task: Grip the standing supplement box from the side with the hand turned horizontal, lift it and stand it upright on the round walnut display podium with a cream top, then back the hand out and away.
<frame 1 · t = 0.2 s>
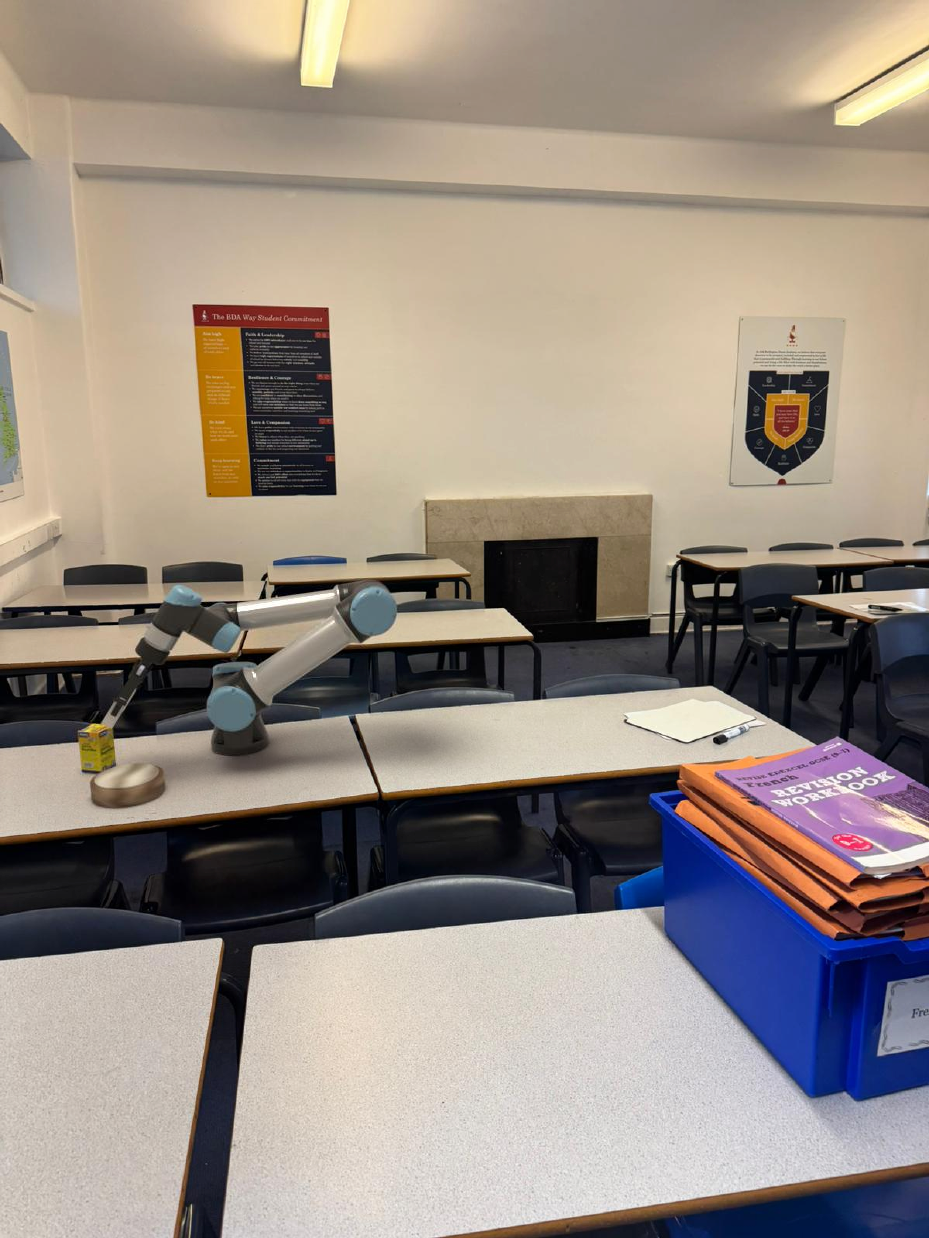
hand: (112, 717, 199), 15 cm above the table, tool tilted 35°, fingers open, 13 cm apart
podium: (128, 792, 191), on the table
supplement box: (99, 769, 205), on the table
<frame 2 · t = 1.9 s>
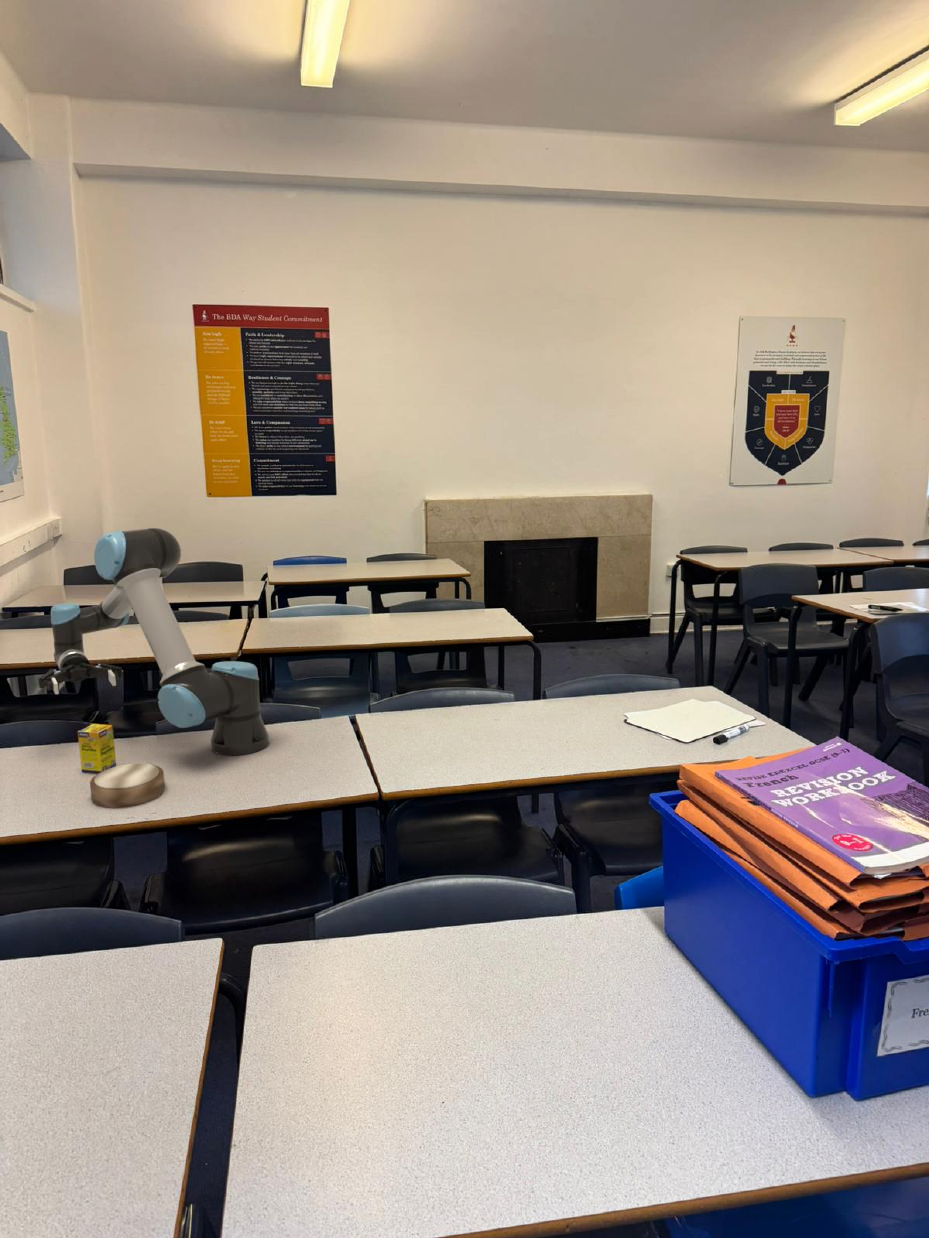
hand: (85, 684, 209), 20 cm above the table, tool horizontal, fingers open, 13 cm apart
nothing on the table moved.
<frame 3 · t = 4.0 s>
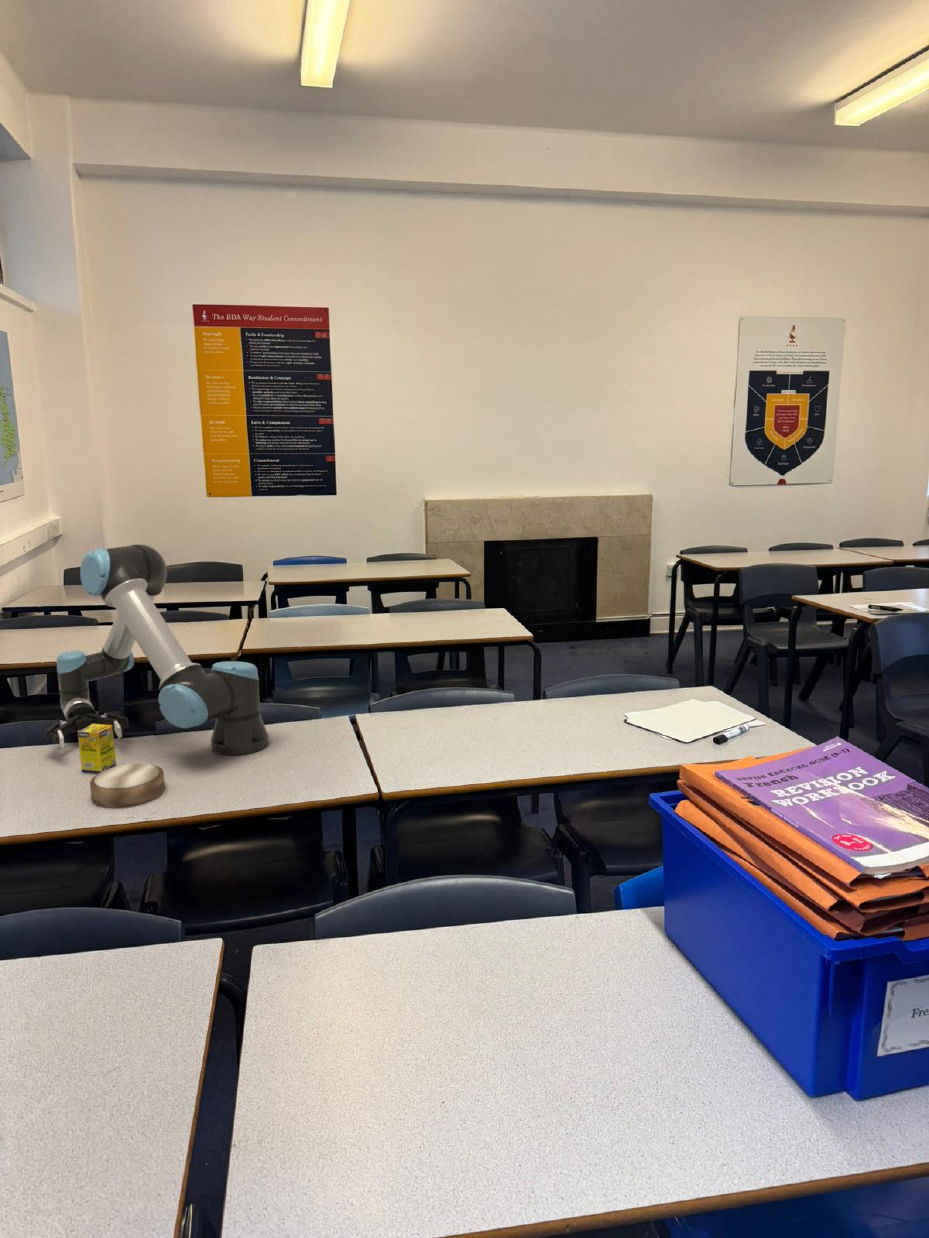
hand: (91, 737, 209), 6 cm above the table, tool horizontal, fingers open, 13 cm apart
nothing on the table moved.
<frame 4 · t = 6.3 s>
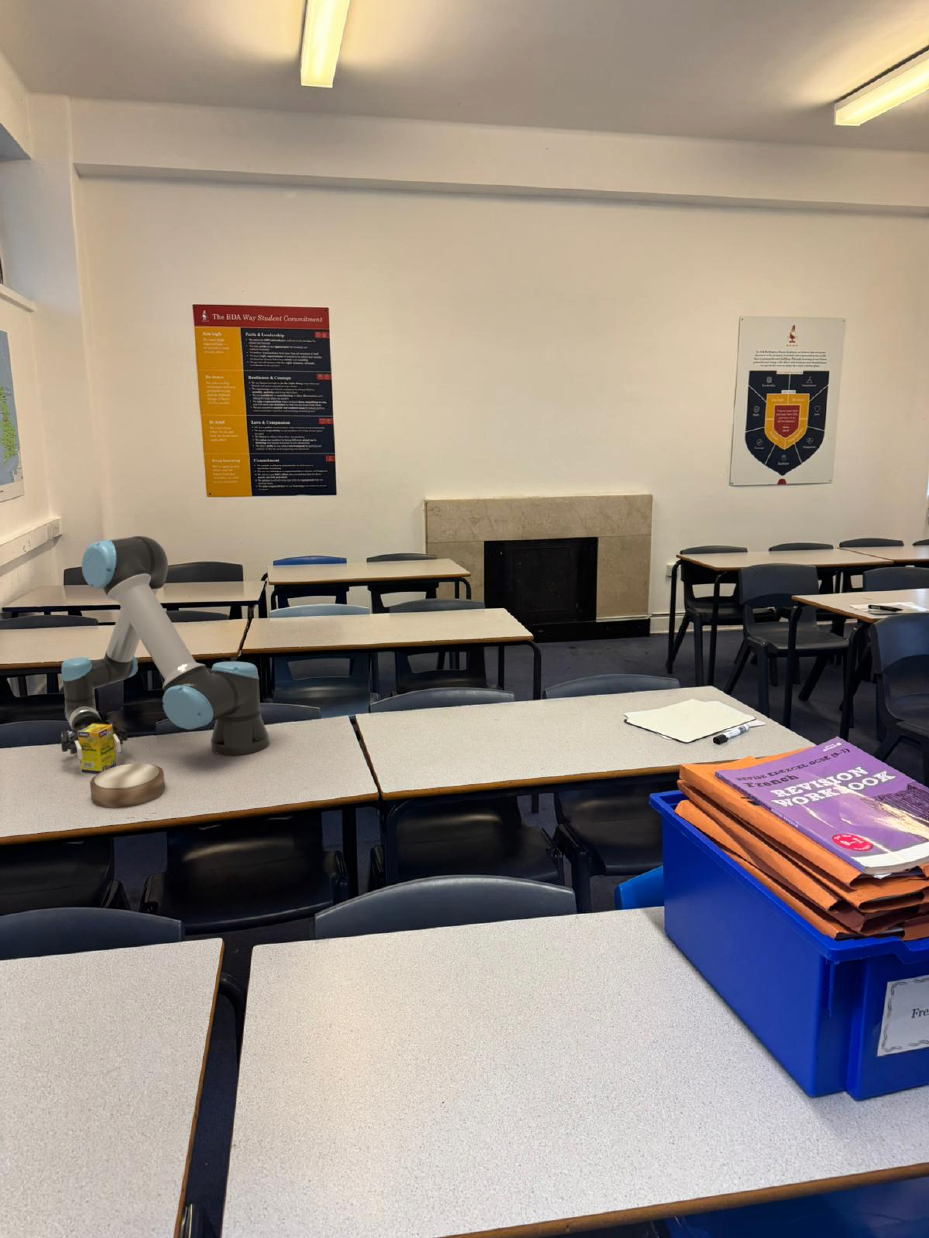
hand: (99, 750, 199), 7 cm above the table, tool horizontal, fingers closed on supplement box, 8 cm apart
supplement box: (99, 769, 205), on the table, touching gripper
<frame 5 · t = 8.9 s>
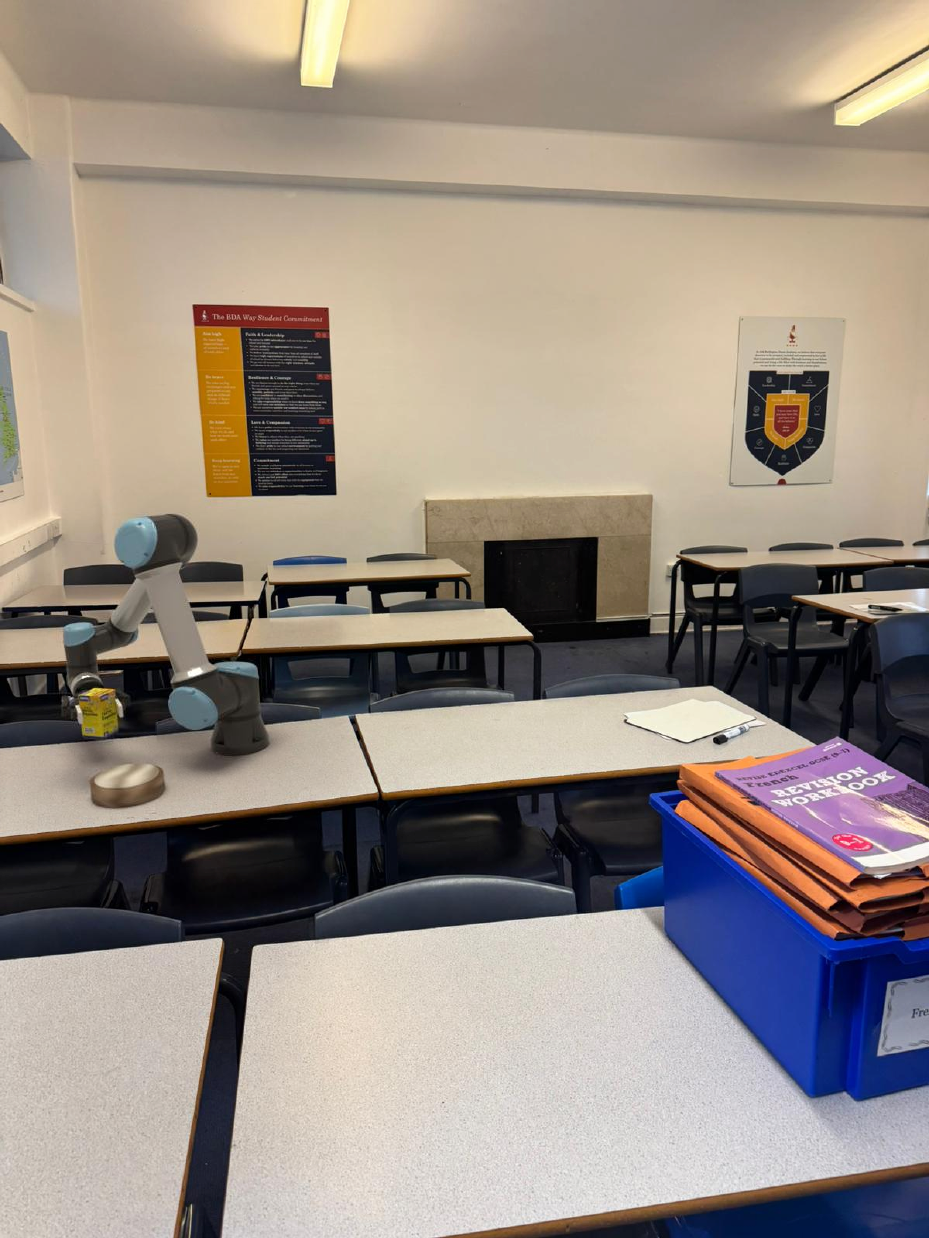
hand: (101, 714, 190), 18 cm above the table, tool horizontal, fingers closed on supplement box, 8 cm apart
supplement box: (101, 735, 196), point 11 cm above the table, touching gripper
when the fingers open (12 cm above the table, at t = 11.5 s): supplement box drops 1 cm, resting on podium.
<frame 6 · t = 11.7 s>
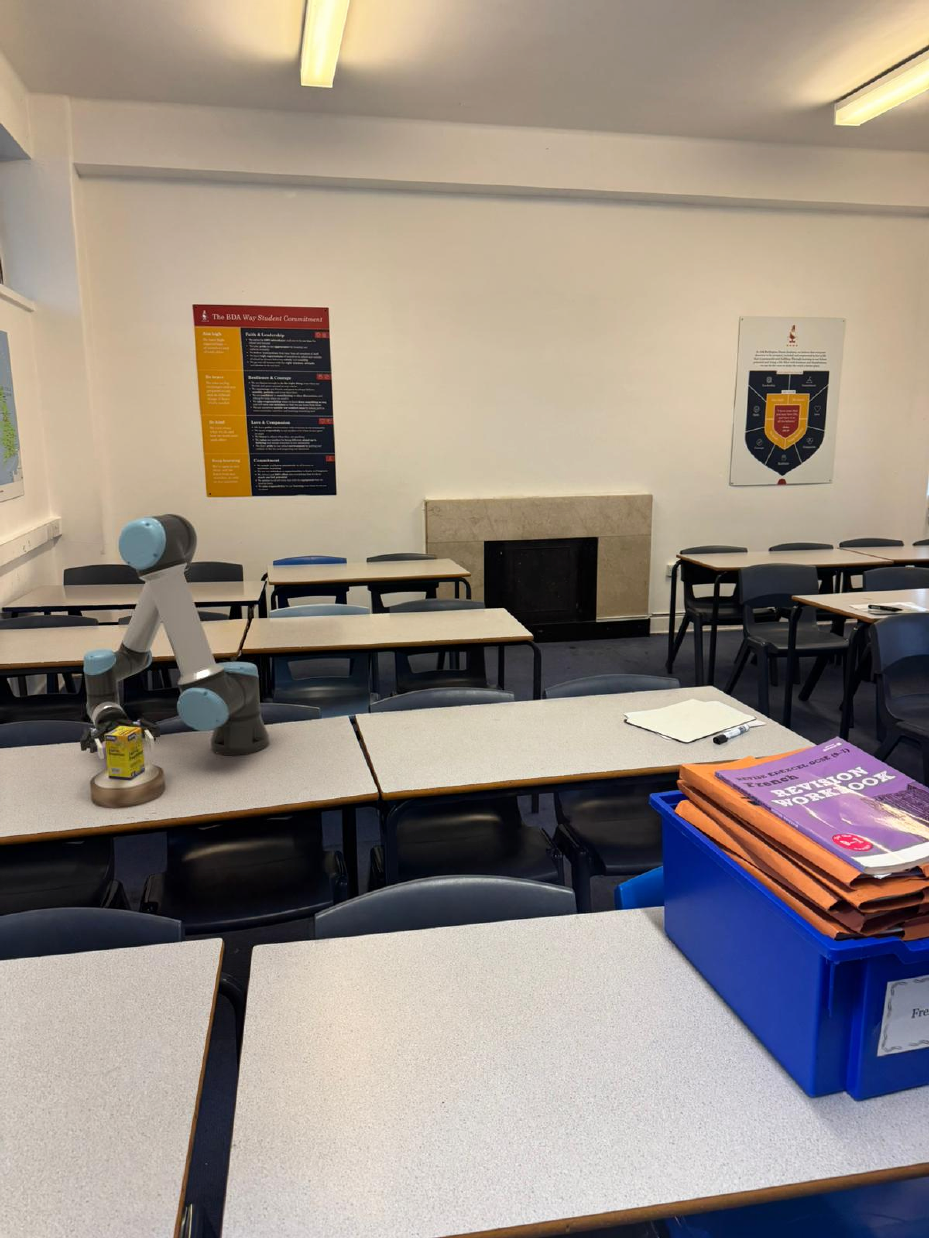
hand: (127, 748, 184), 12 cm above the table, tool horizontal, fingers open, 10 cm apart
supplement box: (127, 775, 190), point 4 cm above the table, touching podium
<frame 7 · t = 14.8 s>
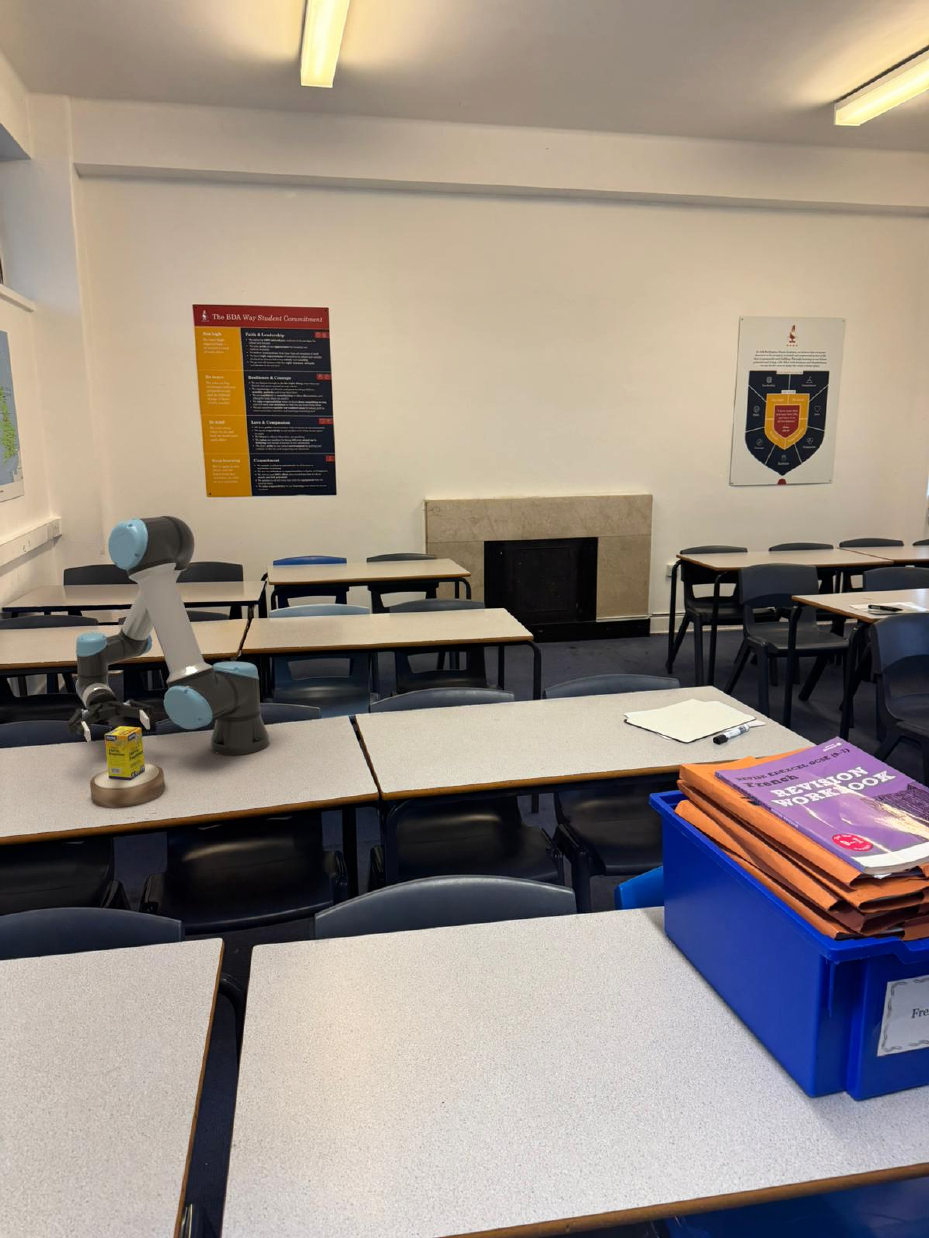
hand: (118, 730, 197), 12 cm above the table, tool horizontal, fingers open, 13 cm apart
nothing on the table moved.
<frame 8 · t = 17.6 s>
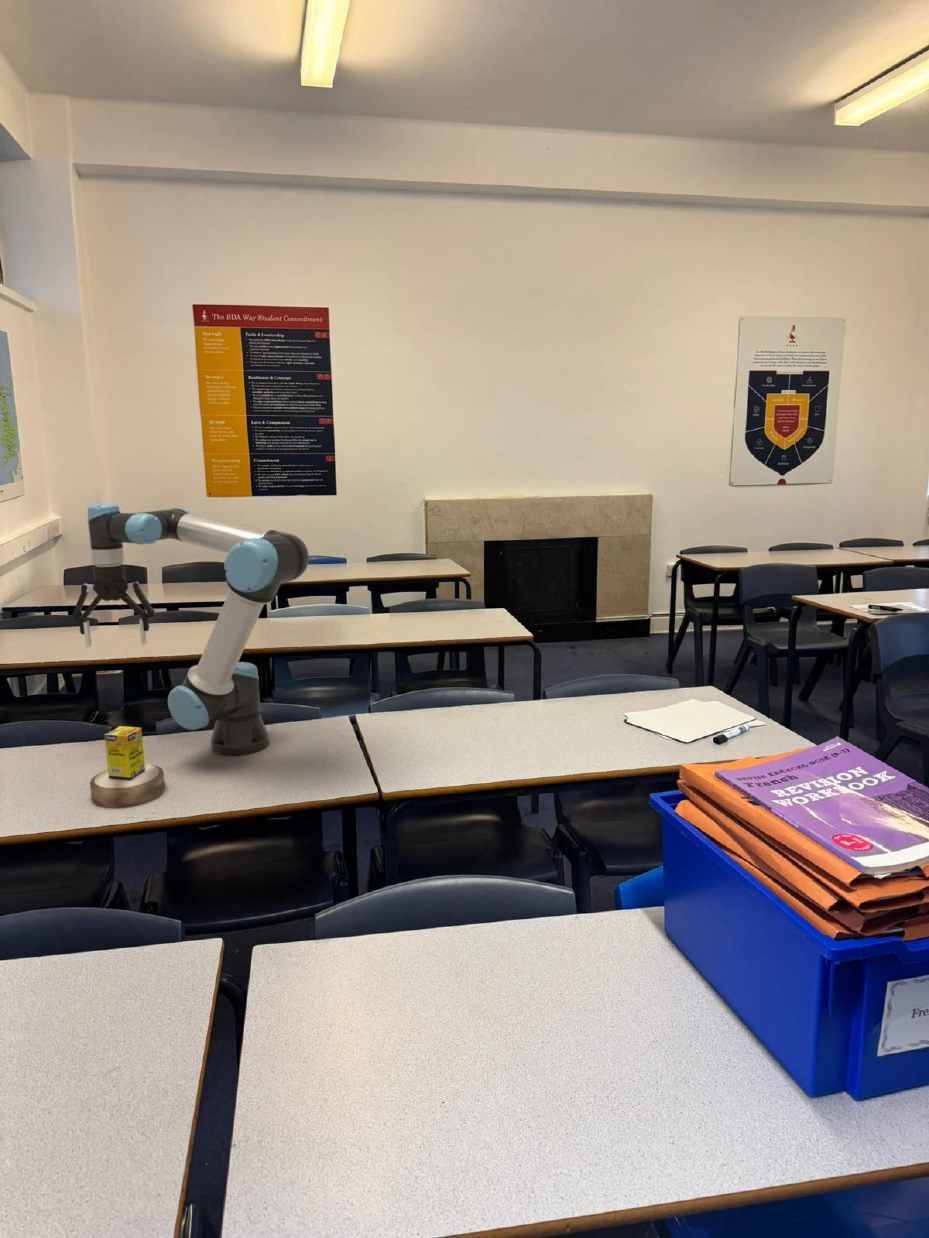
hand: (116, 644, 213), 29 cm above the table, tool pointing down, fingers open, 13 cm apart
nothing on the table moved.
at the end: supplement box inside the target area on the podium (0.1 cm from its centre), point 4.3 cm above the podium's base; supplement box tilted 0°; the gripper is holding nothing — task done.
